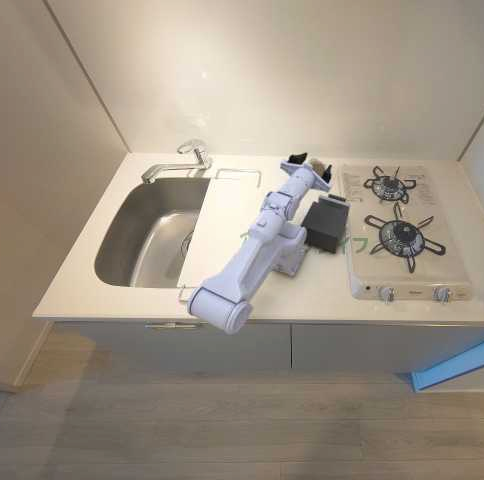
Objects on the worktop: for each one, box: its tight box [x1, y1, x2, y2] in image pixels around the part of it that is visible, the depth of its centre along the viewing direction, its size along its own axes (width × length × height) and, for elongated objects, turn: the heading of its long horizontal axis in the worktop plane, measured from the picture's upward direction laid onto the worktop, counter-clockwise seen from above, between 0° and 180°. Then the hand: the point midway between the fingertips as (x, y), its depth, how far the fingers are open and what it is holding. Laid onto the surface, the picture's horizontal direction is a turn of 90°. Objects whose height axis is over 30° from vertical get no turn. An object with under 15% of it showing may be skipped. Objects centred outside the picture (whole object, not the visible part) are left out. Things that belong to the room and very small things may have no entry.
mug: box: [307, 157, 326, 177], centre depth 100 cm, size 8×10×10 cm
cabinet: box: [299, 200, 350, 255], centre depth 82 cm, size 11×12×9 cm
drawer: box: [317, 193, 351, 213], centre depth 86 cm, size 13×10×7 cm
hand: (317, 161), depth 74 cm, fingers open, 7 cm apart
